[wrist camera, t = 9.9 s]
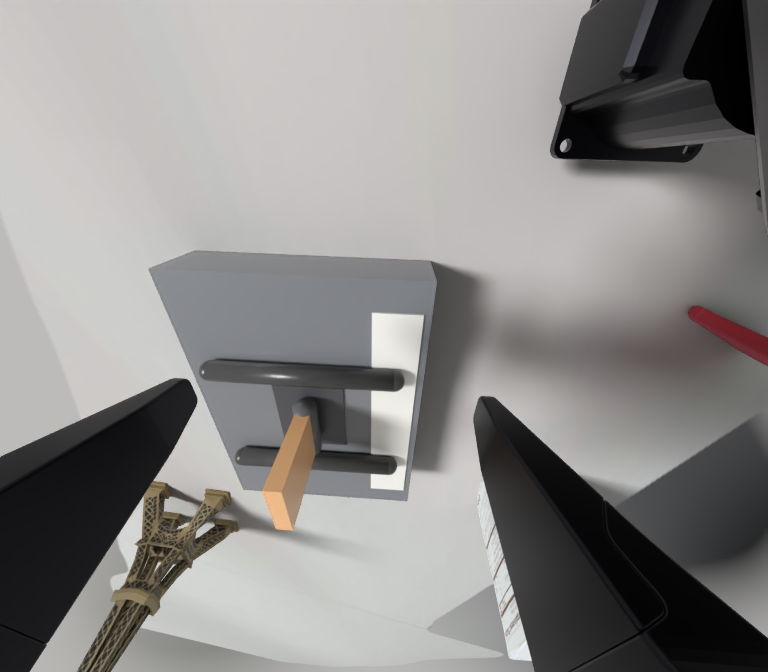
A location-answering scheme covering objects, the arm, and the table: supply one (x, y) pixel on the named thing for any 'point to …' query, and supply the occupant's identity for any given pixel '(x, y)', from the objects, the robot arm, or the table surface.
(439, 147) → the table surface
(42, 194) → the table surface
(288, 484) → the breaker lever
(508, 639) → the supplement box
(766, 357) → the smartphone
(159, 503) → the eiffel tower
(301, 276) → the breaker panel
